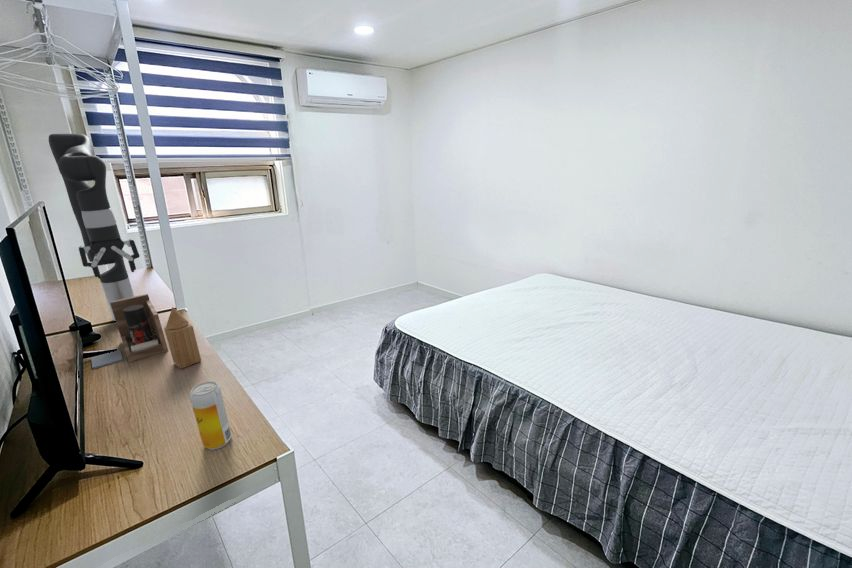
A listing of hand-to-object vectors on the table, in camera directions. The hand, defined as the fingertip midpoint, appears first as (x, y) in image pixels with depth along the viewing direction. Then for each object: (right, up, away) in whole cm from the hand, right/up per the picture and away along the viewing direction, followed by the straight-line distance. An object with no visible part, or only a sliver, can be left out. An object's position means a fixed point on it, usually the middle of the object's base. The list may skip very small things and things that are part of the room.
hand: (116, 274), depth 125 cm
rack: (-3, -25, +16) cm, 30 cm away
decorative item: (+20, -29, +4) cm, 36 cm away
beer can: (+50, -41, -32) cm, 72 cm away
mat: (-9, -29, +8) cm, 31 cm away
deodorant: (-3, -26, +16) cm, 30 cm away
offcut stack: (+1, -27, +12) cm, 29 cm away
